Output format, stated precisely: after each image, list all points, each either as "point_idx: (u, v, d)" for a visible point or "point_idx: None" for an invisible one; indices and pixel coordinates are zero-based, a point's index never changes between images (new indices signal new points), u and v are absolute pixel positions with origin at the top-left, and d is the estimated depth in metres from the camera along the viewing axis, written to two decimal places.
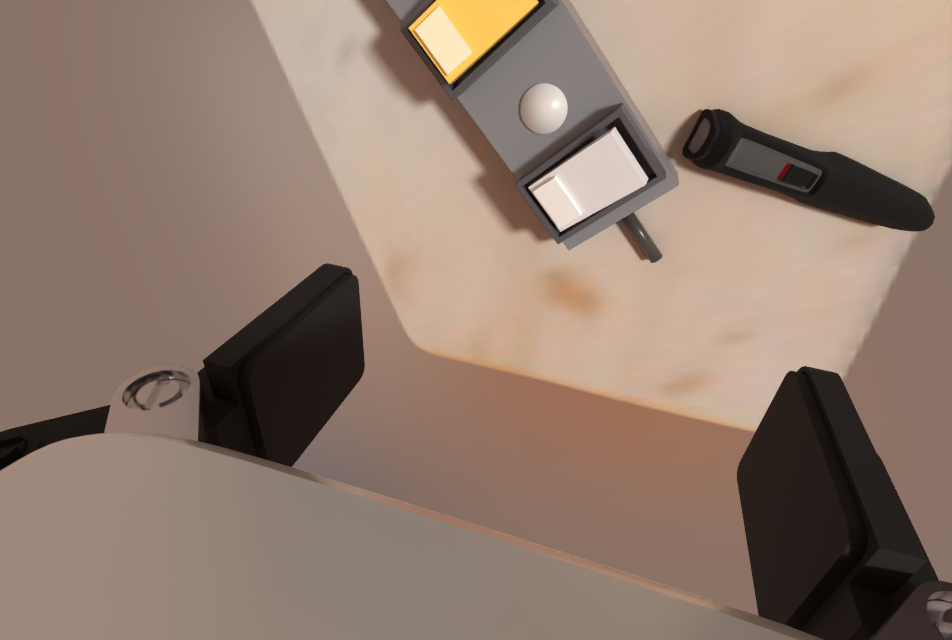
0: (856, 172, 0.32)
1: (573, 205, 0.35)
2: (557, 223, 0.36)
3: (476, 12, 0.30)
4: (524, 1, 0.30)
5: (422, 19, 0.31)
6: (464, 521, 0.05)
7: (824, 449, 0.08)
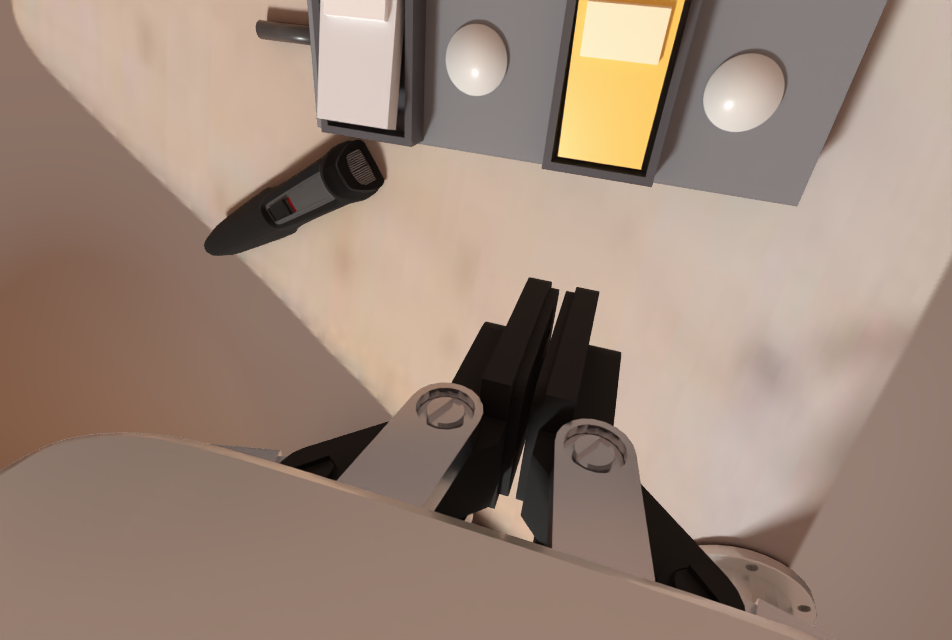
0: (268, 237, 0.37)
1: (339, 15, 0.24)
2: None
3: (610, 94, 0.22)
4: (571, 145, 0.24)
5: (671, 27, 0.20)
6: (464, 521, 0.05)
7: (554, 340, 0.10)
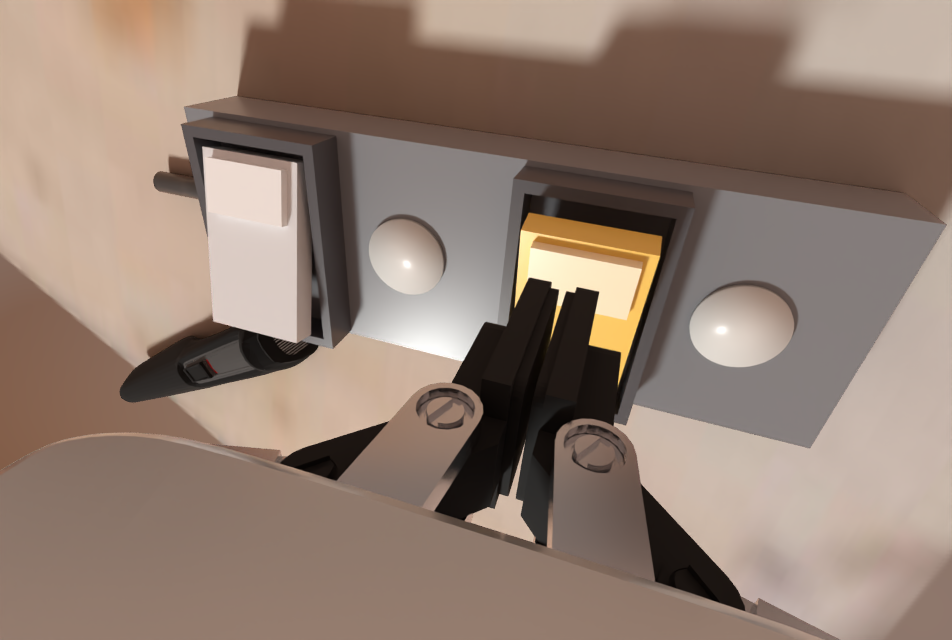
0: (191, 390, 0.32)
1: (228, 215, 0.19)
2: (212, 161, 0.18)
3: None
4: None
5: (643, 282, 0.15)
6: (464, 521, 0.05)
7: (554, 340, 0.10)
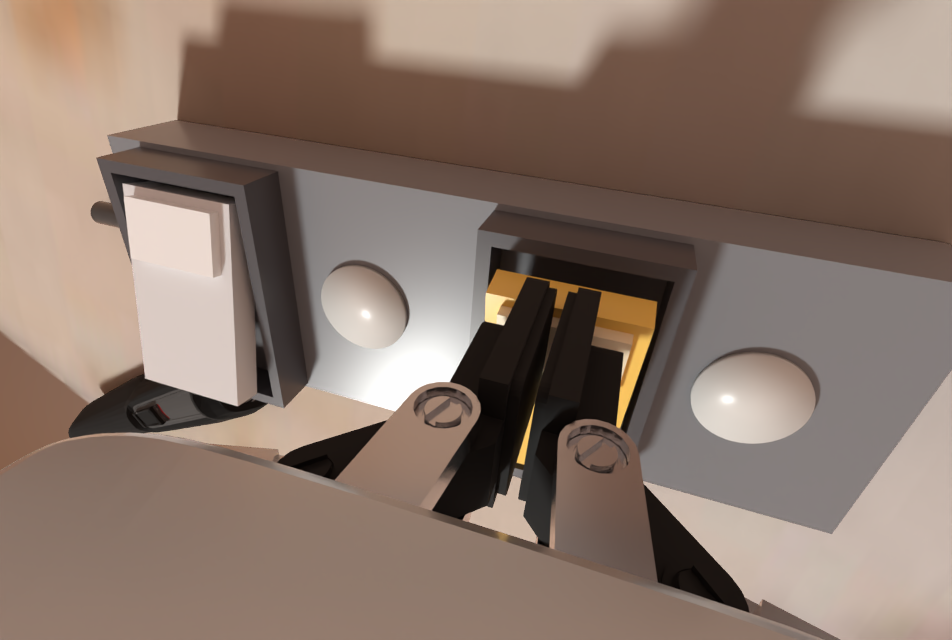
0: None
1: (153, 262, 0.16)
2: (132, 201, 0.16)
3: None
4: None
5: (634, 357, 0.12)
6: (464, 521, 0.05)
7: (557, 340, 0.10)
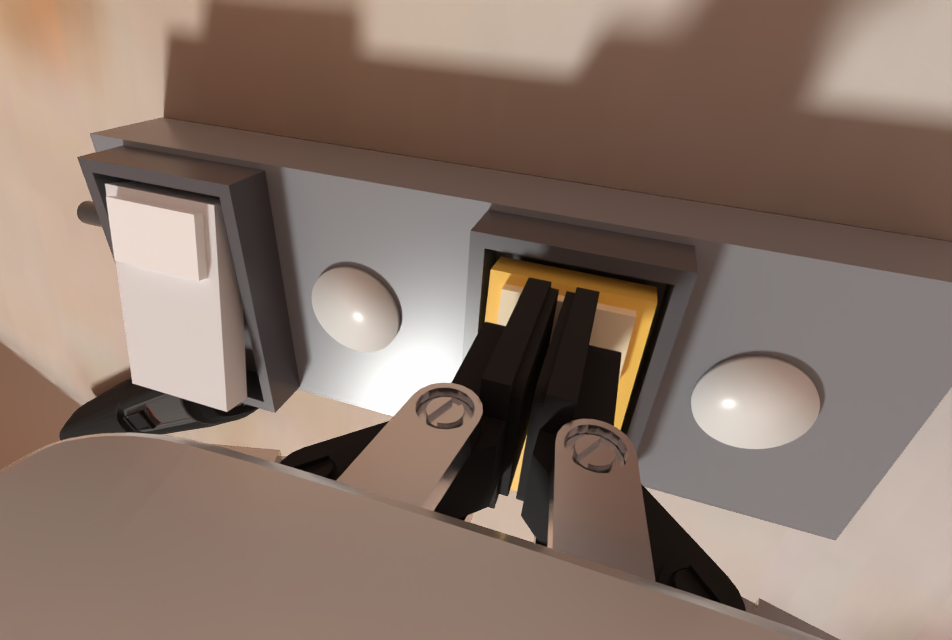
0: None
1: (137, 264, 0.16)
2: (115, 202, 0.15)
3: None
4: None
5: (637, 338, 0.12)
6: (464, 521, 0.05)
7: (554, 340, 0.10)
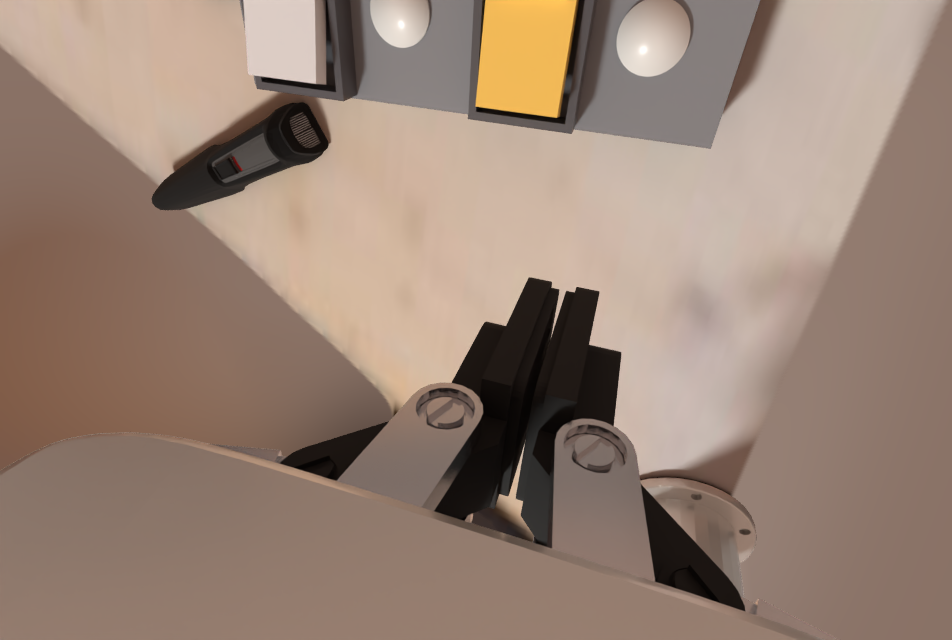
0: (216, 194, 0.38)
1: None
2: None
3: (524, 35, 0.23)
4: (488, 94, 0.24)
5: None
6: (464, 521, 0.05)
7: (554, 340, 0.10)
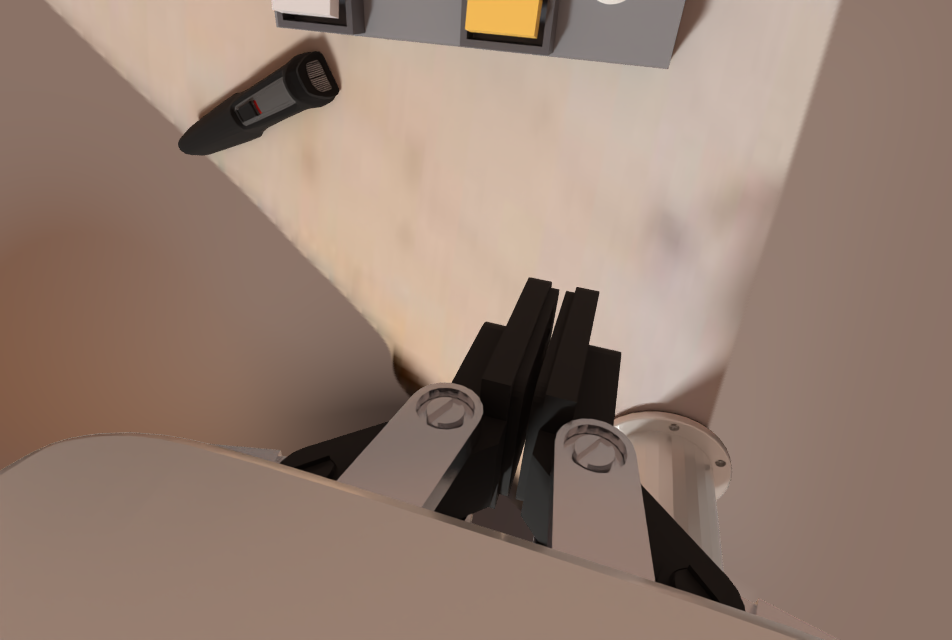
0: (236, 139, 0.42)
1: None
2: None
3: None
4: (475, 17, 0.28)
5: None
6: (464, 521, 0.05)
7: (554, 340, 0.10)
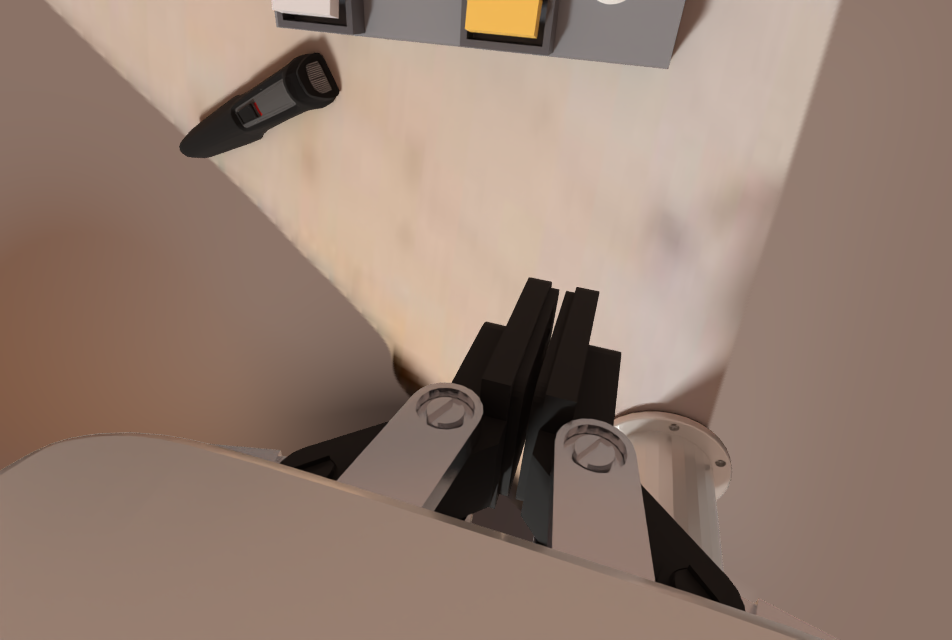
0: (237, 141, 0.42)
1: None
2: None
3: None
4: (475, 17, 0.28)
5: None
6: (464, 521, 0.05)
7: (554, 340, 0.10)
